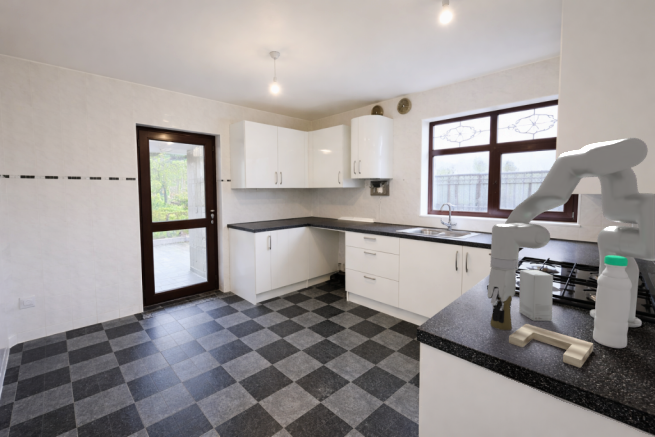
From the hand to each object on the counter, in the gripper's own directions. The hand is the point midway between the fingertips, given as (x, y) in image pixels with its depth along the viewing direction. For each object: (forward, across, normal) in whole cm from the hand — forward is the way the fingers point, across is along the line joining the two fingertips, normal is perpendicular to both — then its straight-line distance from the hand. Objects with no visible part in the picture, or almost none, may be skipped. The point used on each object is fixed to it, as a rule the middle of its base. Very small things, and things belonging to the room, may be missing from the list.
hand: (501, 318), depth 97 cm
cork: (+3, 0, 0) cm, 3 cm away
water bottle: (+3, -12, +24) cm, 27 cm away
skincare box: (+3, -17, +4) cm, 18 cm away
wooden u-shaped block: (+2, +4, +14) cm, 15 cm away
